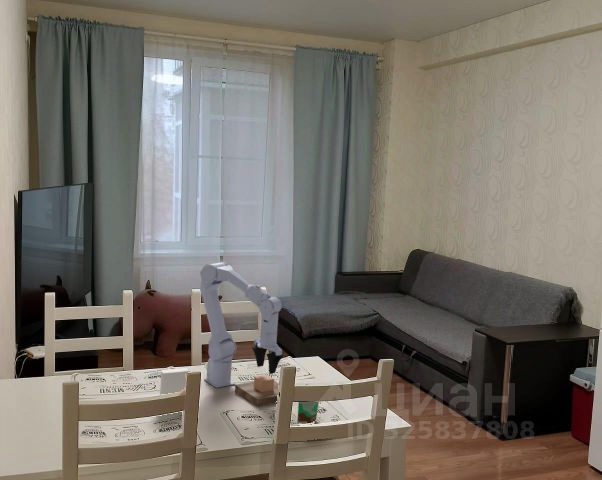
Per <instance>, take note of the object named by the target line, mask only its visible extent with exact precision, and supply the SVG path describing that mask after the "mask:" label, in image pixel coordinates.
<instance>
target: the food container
mask: <svg viewBox="0 0 602 480" xmlns="http://www.w3.org/2000/svg"><path fill="white" fill-rule="evenodd" d="M306 385H308V384H305V386H306ZM297 404H298V407H297V422H296V423H311V422H313V421H315V420H316V421H317V414H318V410H319V404H320V401H319V402H297Z"/></svg>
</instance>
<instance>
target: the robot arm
mask: <svg viewBox="0 0 602 480" xmlns="http://www.w3.org/2000/svg"><path fill="white" fill-rule="evenodd" d="M199 274H200V278H201V281H200V292H201V295H202V298H203V304H204V309H205V312H206V317H207V322H208V324H209V329H210V333H211V334H210V338H209V340H208V356H209V359H207V363H206V377H204V379H203V380H204V381H206V382H207V383H209V384H210V385H212V386H213V387H215V388H216V389H217V388H223V387H229V386H235V385H236V383H235V382H234V381H233V380H232V379H231V378H232V365H233V357H234V355H235V354H236V352H237V348H238V347H237V343H236V342H235V341H234V339H233V335H232V334H231V333H229V332H228V331H227V328H226V324H225V320H224V315H223V311H222V306H221V303H220V298H219V293H218V288H219V287H220V285H221V284H222V283H223V282H228V283H230V284H232V285H233V286H234V287H236V288H237V289H238V290H240V291H242V292H243V293H244V297H245V298H246V299H247V300H248V301H250V302H251V303H252V304H254V305H255V306H257V308H258V309H259V312H260V314H261V315H260V317H261V322H260V333H259V337H258V338H254V339H253V340H254V341H253V344H254V345H253V346H252V347H251V348H252V351H253V353H254V356H255V361H256V366H257V368H260V367H264V365H265V359H266V358H265V357H267V360H268V374H271V375H272V374H276V371H277V368H278V365H279V363H280V362H281V359H283V357H284V354H283V349H282V348H281V347H279V345H278V344H277V337H278V326H279V324H278V323H279V312H280V311H281V310H282V308H283V303H282V301H281V298H279V297H278V296H276V295H272V294H271V293H269V292H266V290H264V289H263V288H262V286H261V285H260V284H251V283H249V282H248V281H247V280H246V279H245V278H243V277H242V276H241V275H240V274H239V273H238V272H237V271H235V270H234V268H233V266H232V265H229V264H228V263H227V262H225V261H220V262H216V263H207V264H205V265H204V266H203V267H202V269H201V270H200V272H199ZM267 351H270V353H267Z"/></svg>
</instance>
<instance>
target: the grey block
mask: <svg viewBox="0 0 602 480" xmlns="http://www.w3.org/2000/svg"><path fill="white" fill-rule="evenodd" d="M190 371H191V370H190V369H189V368H187V367H184V368H182V367H181V368H172V369H171V368H170V369H162V370H161V371H160V388H159V389H160V391H159V392H160V393H159V396H160V395H161V394H168V393H175V392H179V391H181V390H182V389H184V387H185V374H186V373H188V372H190ZM190 373H191V372H190Z"/></svg>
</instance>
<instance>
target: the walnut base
mask: <svg viewBox="0 0 602 480" xmlns="http://www.w3.org/2000/svg"><path fill="white" fill-rule="evenodd" d="M279 384H280V383H279V382H277V381H276V380H274V388H273V390H271V391H265V392H260V391H258V390H257V389H255V388H254V381H249V382H244V383H237V384H235V385H234V386H235V387H234V392H235V393H236V394H238V395H239V396H240V397H242V398H244V399H246V400H247V401H248V402H250V403H252V404H253V405H255V406H256V407H262V406H268V405H272V404H276V403H275V402H276V401H277V395H278V385H279Z"/></svg>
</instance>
